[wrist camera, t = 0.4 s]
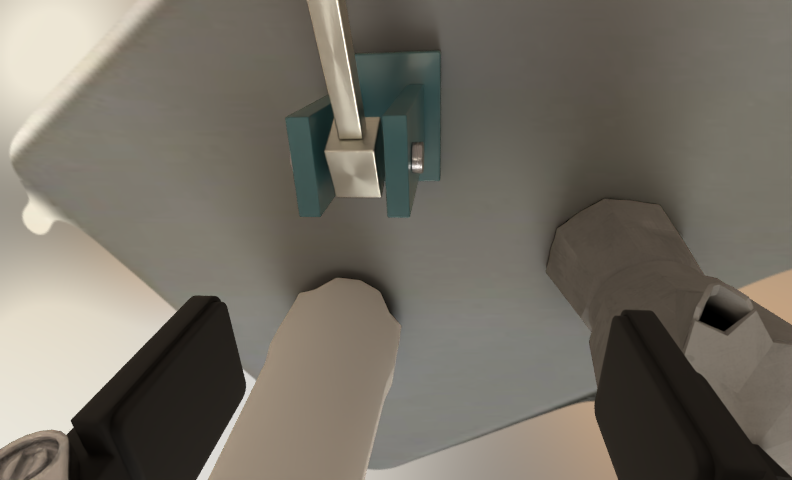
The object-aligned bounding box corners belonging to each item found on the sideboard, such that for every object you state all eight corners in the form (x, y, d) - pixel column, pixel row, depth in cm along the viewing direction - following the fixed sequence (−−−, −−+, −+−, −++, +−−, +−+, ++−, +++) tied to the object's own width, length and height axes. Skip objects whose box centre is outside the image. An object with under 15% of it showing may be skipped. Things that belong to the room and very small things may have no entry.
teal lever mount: (329, 54, 28) (253, 70, 17) (441, 50, 27) (432, 64, 16) (341, 176, 31) (284, 252, 21) (440, 175, 30) (433, 255, 20)
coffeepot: (526, 188, 30) (611, 376, 14) (677, 149, 28) (988, 320, 12) (563, 360, 36) (652, 632, 20) (690, 340, 34) (907, 628, 17)
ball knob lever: (251, -162, 13) (208, -134, 11) (370, -175, 13) (351, -147, 10) (332, 156, 22) (318, 207, 20) (402, 155, 22) (395, 207, 20)
